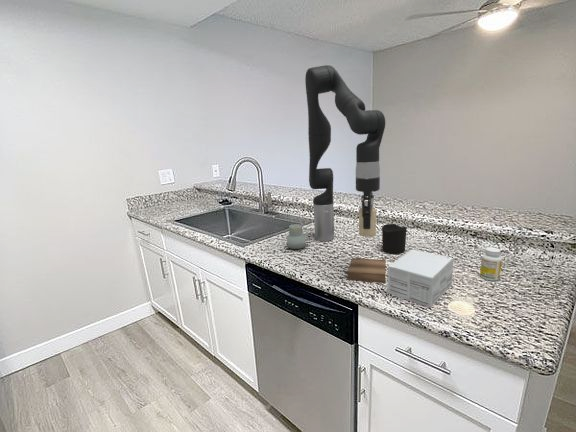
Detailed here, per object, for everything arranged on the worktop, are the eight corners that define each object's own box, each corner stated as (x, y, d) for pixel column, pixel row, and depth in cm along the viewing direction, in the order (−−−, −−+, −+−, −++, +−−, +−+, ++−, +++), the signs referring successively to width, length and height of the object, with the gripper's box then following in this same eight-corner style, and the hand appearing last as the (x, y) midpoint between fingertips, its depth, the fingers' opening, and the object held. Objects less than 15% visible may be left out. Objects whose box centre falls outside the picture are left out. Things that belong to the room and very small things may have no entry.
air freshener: (306, 251, 131) (305, 228, 128) (287, 252, 131) (285, 229, 128) (305, 242, 141) (304, 221, 139) (287, 243, 142) (286, 222, 139)
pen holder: (402, 246, 129) (403, 223, 127) (408, 254, 120) (409, 230, 118) (379, 246, 130) (380, 224, 128) (384, 254, 121) (384, 231, 119)
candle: (364, 238, 99) (364, 208, 97) (356, 233, 105) (355, 205, 102) (379, 235, 101) (379, 206, 98) (370, 231, 106) (370, 203, 103)
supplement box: (410, 274, 104) (411, 248, 102) (452, 285, 95) (454, 257, 92) (386, 293, 93) (387, 265, 90) (431, 308, 83) (432, 277, 81)
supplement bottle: (487, 281, 95) (491, 253, 93) (476, 274, 100) (478, 247, 98) (504, 280, 96) (507, 251, 93) (491, 272, 101) (494, 245, 98)
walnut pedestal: (351, 265, 113) (351, 257, 113) (385, 267, 110) (385, 259, 109) (347, 279, 102) (347, 271, 102) (385, 282, 99) (385, 274, 98)
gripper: (357, 173, 105) (357, 220, 110) (353, 179, 92) (353, 232, 96) (380, 172, 103) (379, 220, 107) (379, 178, 90) (378, 233, 94)
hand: (367, 225), depth 102 cm, fingers closed on candle, 5 cm apart
